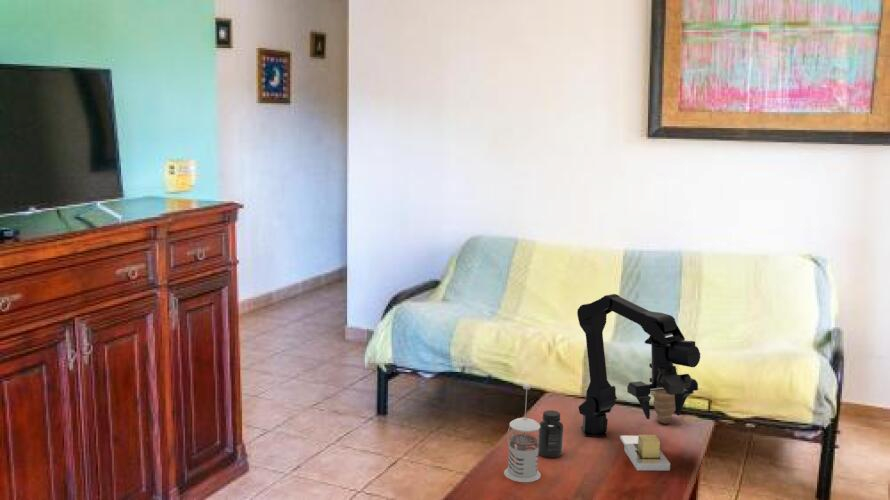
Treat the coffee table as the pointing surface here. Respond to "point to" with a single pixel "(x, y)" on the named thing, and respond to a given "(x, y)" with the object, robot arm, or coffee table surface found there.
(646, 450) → the brass metal cube
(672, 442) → the coffee table surface
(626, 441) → the coaster
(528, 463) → the french press
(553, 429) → the supplement bottle
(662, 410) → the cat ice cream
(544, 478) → the coffee table surface
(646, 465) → the white flat frame
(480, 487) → the coffee table surface
